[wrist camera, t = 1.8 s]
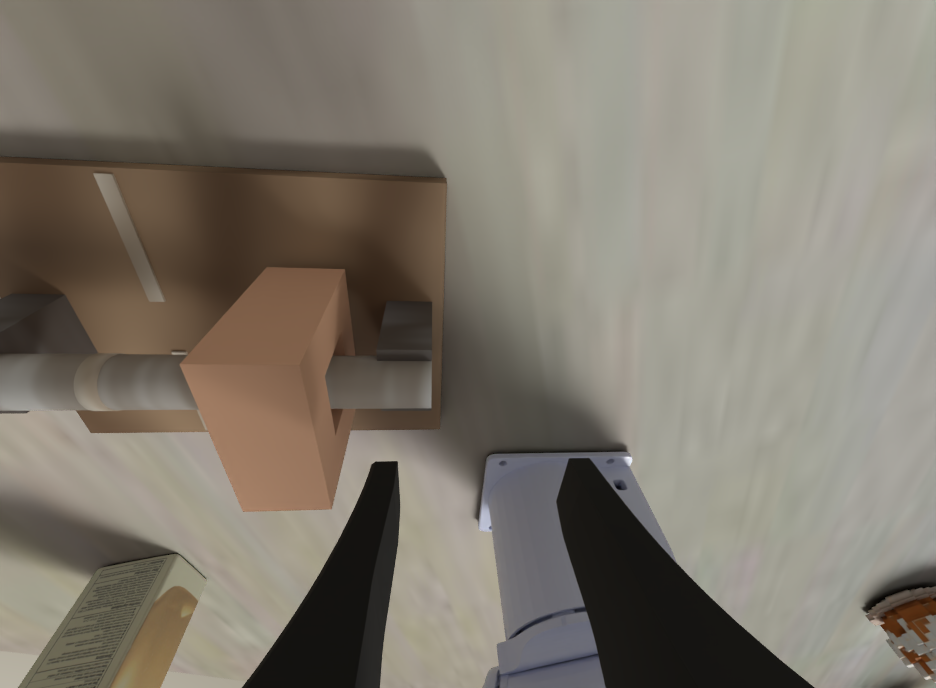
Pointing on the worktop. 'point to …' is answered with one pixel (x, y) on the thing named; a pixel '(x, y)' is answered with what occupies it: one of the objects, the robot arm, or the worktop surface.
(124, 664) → the skincare box
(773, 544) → the worktop surface
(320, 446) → the collar
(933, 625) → the decorative ornament
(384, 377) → the pipe rig
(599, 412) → the worktop surface
